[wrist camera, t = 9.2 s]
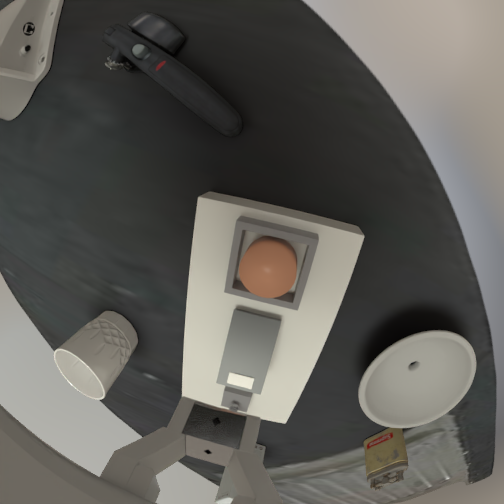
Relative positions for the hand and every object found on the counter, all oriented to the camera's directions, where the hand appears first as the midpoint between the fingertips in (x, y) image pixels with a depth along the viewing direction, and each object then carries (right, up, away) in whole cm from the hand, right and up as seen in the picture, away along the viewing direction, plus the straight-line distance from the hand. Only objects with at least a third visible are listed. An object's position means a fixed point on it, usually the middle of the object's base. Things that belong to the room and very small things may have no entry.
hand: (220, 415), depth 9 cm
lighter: (+23, -24, +25) cm, 41 cm away
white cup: (-17, -5, +26) cm, 31 cm away
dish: (+21, -7, +19) cm, 29 cm away
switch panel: (+2, -2, +21) cm, 21 cm away
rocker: (+1, -3, +16) cm, 17 cm away
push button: (+3, +5, +14) cm, 16 cm away
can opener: (-6, +23, +13) cm, 27 cm away
